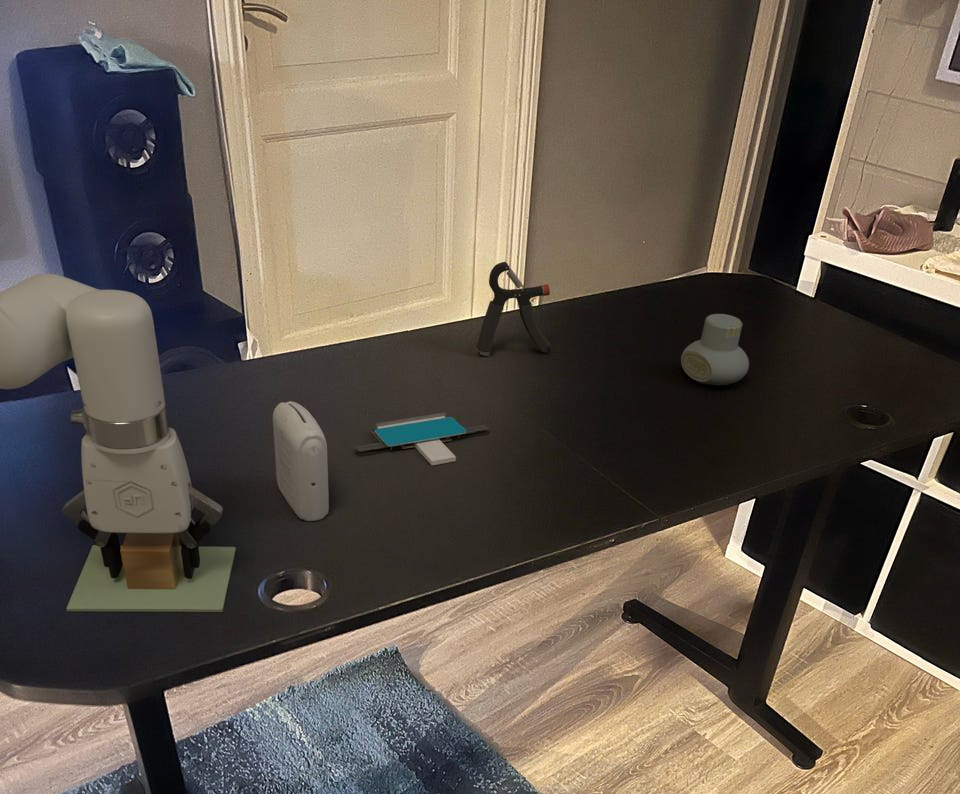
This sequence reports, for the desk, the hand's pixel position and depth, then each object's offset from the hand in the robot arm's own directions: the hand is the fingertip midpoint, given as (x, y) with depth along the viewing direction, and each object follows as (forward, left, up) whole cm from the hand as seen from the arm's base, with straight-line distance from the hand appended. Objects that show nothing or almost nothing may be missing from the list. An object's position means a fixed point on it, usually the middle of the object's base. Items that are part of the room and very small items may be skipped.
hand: (154, 570), depth 106 cm
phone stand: (+31, +33, -1) cm, 45 cm away
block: (0, 0, -1) cm, 1 cm away
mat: (0, 0, -1) cm, 1 cm away
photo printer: (+15, +17, -1) cm, 23 cm away
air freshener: (+79, +58, -1) cm, 98 cm away
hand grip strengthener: (+47, +66, -1) cm, 81 cm away
